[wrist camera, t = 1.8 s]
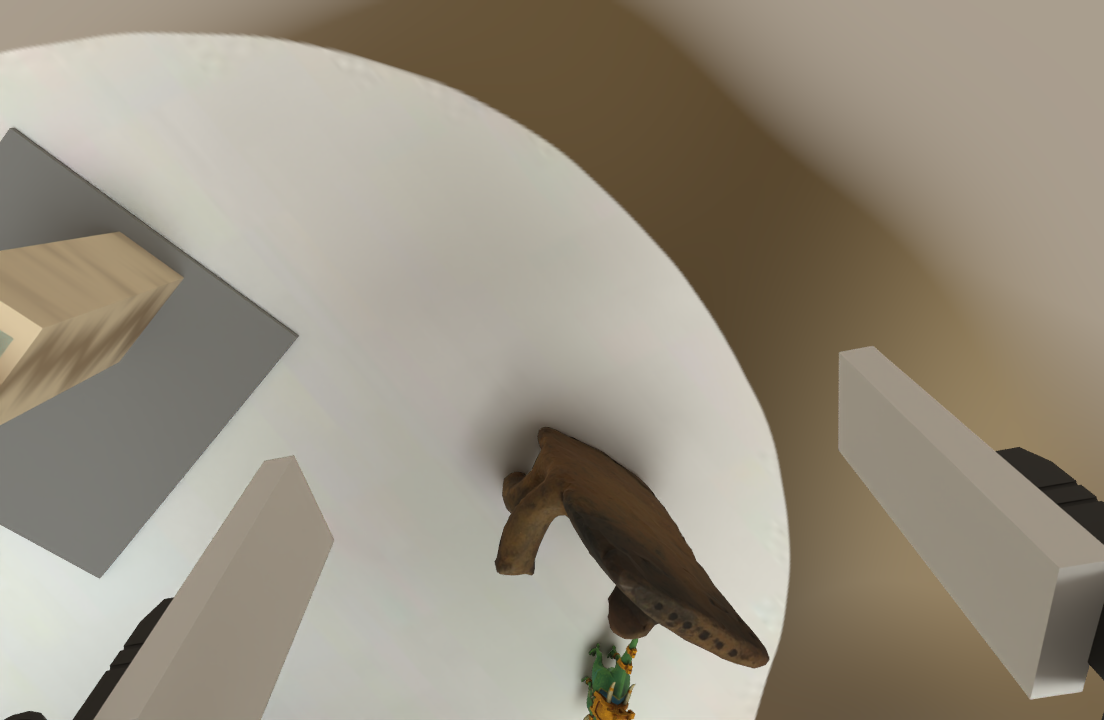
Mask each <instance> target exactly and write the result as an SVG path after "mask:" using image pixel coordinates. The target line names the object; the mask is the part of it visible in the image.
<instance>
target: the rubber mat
mask: <svg viewBox="0 0 1104 720" xmlns="http://www.w3.org/2000/svg"><path fill="white" fill-rule="evenodd" d="M114 232H121V233H123V234H124V235H125V236H127V237H128V238H130V239H131V240H132V241H134V242H135V243H136V244H138V245H139V246H141V247H142V248H143V249H145V250H146V251H148V252H149V253H150V254H152V255H153V256H155V257H156V258H157V259H159V260H160V261H162V262H163V263H164V264H166V265H167V266H168V267H170V268H171V269H173V270H174V271H175V272H177V273H178V274H180V275H181V276H182V277H184V279H183V280H182V281H181V282H180V284H179V285H178V286H177V288H176V289H175V290H174V291H173V293H172V294H171V295H170V297H169V298H168V299H167V301H166V302H165V303H164V304H163V306H162V307H161V308H160V310H159V311H158V312H157V313H156V315H155V316H154V317H153V319H152V320H151V321H150V323H149V324H148V325H147V326H146V328H145V329H144V330H143V332H142V333H141V334H140V336H139V337H138V338H137V339H136V341H135V342H134V343H133V345H132V346H131V347H130V348H129V350H128V351H127V352H126V354H125V355H124V356H123V358H122V359H121V360H120V361H119V362H118V363H116V364H115V365H113V366H111V367H109V368H107V369H105V370H103V371H101V372H100V373H98V374H96V375H94V376H92V377H90V378H88V379H86V380H85V381H83V382H81V383H79V384H77V385H75V386H73V387H71V388H70V389H68V390H66V391H64V392H62V393H60V394H58V395H56V396H54V397H53V398H51V399H49V400H47V401H45V402H43V403H41V404H39V405H38V406H36V407H34V408H32V409H30V410H28V411H26V412H24V413H23V414H21V415H19V416H17V417H15V418H13V419H11V420H9V421H7V422H6V423H4V424H2V425H0V525H2V526H4V527H6V528H8V529H9V530H11V531H13V532H15V533H17V534H19V535H20V536H22V537H24V538H26V539H28V540H30V541H31V542H33V543H35V544H37V545H39V546H41V547H43V548H44V549H46V550H48V551H50V552H52V553H54V554H55V555H57V556H59V557H61V558H63V559H65V560H66V561H68V562H70V563H72V564H74V565H76V566H77V567H79V568H81V569H83V570H85V571H87V572H88V573H90V574H92V575H94V576H96V577H98V578H99V579H100V578H101V577H102V575H103V574H104V573H105V572H106V571H107V569H108V568H109V567H110V566H111V565H112V563H113V562H114V561H115V560H116V558H117V557H118V556H119V555H120V554H121V552H122V551H123V550H124V549H125V547H126V546H127V545H128V544H129V543H130V541H131V540H132V539H133V538H134V536H135V535H136V534H137V533H138V532H139V530H140V529H141V528H142V527H143V525H144V524H145V523H146V522H147V521H148V519H149V518H150V517H151V516H152V514H153V513H154V512H155V511H156V510H157V508H158V507H159V506H160V505H161V503H162V502H163V501H164V500H165V499H166V497H167V496H168V495H169V494H170V492H171V491H172V490H173V489H174V488H175V486H176V485H177V484H178V483H179V481H180V480H181V479H182V478H183V477H184V475H185V474H186V473H187V472H188V470H189V469H190V468H191V467H192V466H193V464H194V463H195V462H196V461H197V459H198V458H199V457H200V456H201V455H202V453H203V452H204V451H205V450H206V448H207V447H208V446H209V445H210V444H211V442H212V441H213V440H214V439H215V437H216V436H217V435H218V434H219V433H220V431H221V430H222V429H223V428H224V426H225V425H226V424H227V423H228V422H229V420H230V419H231V418H232V417H233V415H234V414H235V413H236V412H237V411H238V409H239V408H240V407H241V406H242V405H243V403H244V402H245V401H246V400H247V398H248V397H249V396H250V395H251V394H252V392H253V391H254V390H255V389H256V387H257V386H258V385H259V384H260V383H261V381H262V380H263V379H264V378H265V376H266V375H267V374H268V373H269V372H270V370H271V369H272V368H273V367H274V365H275V364H276V363H277V362H278V361H279V359H280V358H281V357H282V356H283V354H284V353H285V352H286V351H287V350H288V348H289V347H290V346H291V345H292V343H293V342H294V341H295V340H296V339H297V337H298V335H296V334H295V333H294V332H292V331H291V330H290V329H288V328H287V327H286V326H284V325H283V324H281V323H280V322H279V321H277V320H276V319H275V318H273V317H272V316H271V315H269V314H268V313H266V312H265V311H264V310H262V309H261V308H260V307H258V306H257V305H255V304H254V303H253V302H251V301H250V300H249V299H247V298H246V297H245V296H243V295H242V294H240V293H239V292H238V291H236V290H235V289H234V288H232V287H231V286H229V285H228V284H227V283H225V282H224V281H223V280H221V279H220V278H219V277H217V276H216V275H214V274H213V273H212V272H210V271H209V270H208V269H206V268H205V267H203V266H202V265H201V264H199V263H198V262H197V261H195V260H194V259H193V258H191V257H190V256H188V255H187V254H186V253H184V252H183V251H182V250H180V249H179V248H177V247H176V246H175V245H173V244H172V243H171V242H169V241H168V240H167V239H165V238H164V237H162V236H161V235H160V234H158V233H157V232H156V231H154V230H153V229H152V228H150V227H149V226H147V225H146V224H145V223H143V222H142V221H141V220H139V219H138V218H136V217H135V216H134V215H132V214H131V213H130V212H128V211H127V210H126V209H124V208H123V207H121V206H120V205H119V204H117V203H116V202H115V201H113V200H112V199H110V198H109V197H108V196H106V195H105V194H104V193H102V192H101V191H100V190H98V189H97V188H95V187H94V186H93V185H91V184H90V183H89V182H87V181H86V180H84V179H83V178H82V177H80V176H79V175H78V174H76V173H75V172H74V171H72V170H71V169H69V168H68V167H67V166H65V165H64V164H63V163H61V162H60V161H59V160H57V159H56V158H54V157H53V156H52V155H50V154H49V153H48V152H46V151H45V150H43V149H42V148H41V147H39V146H38V145H37V144H35V143H34V142H33V141H31V140H30V139H28V138H27V137H26V136H24V135H23V134H22V133H20V132H19V131H17V130H16V129H15V128H10V129H9V130H8V132H7V133H6V135H5V136H4V137H3V139H2V140H1V142H0V251H2V250H8V249H15V248H21V247H27V246H33V245H39V244H45V243H52V242H58V241H64V240H70V239H76V238H83V237H89V236H95V235H101V234H107V233H114Z"/></svg>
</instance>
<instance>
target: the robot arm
mask: <svg viewBox="0 0 1104 720" xmlns="http://www.w3.org/2000/svg"><path fill="white" fill-rule="evenodd" d="M839 451H840V452H841V454H842V455H843V456H844V458H845V459H846V460H847V462H848V463H849V464H850V465H851V467H852V468H853V469H854V471H855V472H856V473H857V475H858V476H859V477H860V478H861V480H862V481H863V482H864V483H865V485H866V486H867V488H868V489H869V490H870V491H871V493H872V494H873V495H874V497H875V498H876V499H877V501H878V502H879V503H880V504H881V506H882V507H883V508H884V510H885V511H886V512H887V514H888V515H889V516H890V517H891V519H892V520H893V521H894V522H895V524H896V525H897V527H898V528H899V529H900V530H901V532H902V533H903V534H904V536H905V537H906V538H907V539H908V541H909V542H910V543H911V544H912V546H913V547H914V548H915V550H916V551H917V553H918V554H919V555H920V556H921V558H922V559H923V560H924V562H925V563H926V564H927V566H928V567H929V568H930V569H931V571H932V572H933V573H934V575H935V576H936V577H937V579H938V580H939V581H940V583H941V584H942V585H943V586H944V588H945V589H946V590H947V592H948V593H949V594H950V596H951V597H952V598H953V599H954V601H955V602H956V603H957V605H958V606H959V607H960V609H961V610H962V611H963V612H964V614H965V615H966V616H967V617H968V619H969V620H970V622H971V623H972V624H973V625H974V626H975V628H976V629H977V631H978V632H979V633H980V635H981V636H982V637H983V638H984V640H985V641H986V642H987V644H988V645H989V646H990V648H991V649H992V650H993V651H994V653H995V654H996V655H997V657H998V658H999V659H1000V660H1001V662H1002V663H1003V664H1004V666H1005V667H1006V668H1007V670H1008V671H1009V672H1010V673H1011V675H1012V676H1013V677H1014V679H1015V680H1016V681H1017V683H1018V684H1019V685H1020V687H1021V688H1022V689H1023V690H1024V692H1025V693H1026V694H1027V696H1028V697H1029V698H1030V699H1036V698H1042V697H1049V696H1056V695H1062V694H1069V693H1076V692H1082V690H1083V687H1084V683H1085V680H1086V676H1087V672H1088V669H1089V665H1090V666H1091V667H1092V668H1093V669H1094V670H1095V671H1096V672H1097V673H1098V674H1099V676H1100V677H1102V679H1103V680H1104V502H1102V501H1098V500H1097V498H1096V496H1095V495H1093V494H1092V493H1091V492H1090V491H1088V490H1087V489H1086V488H1084V487H1083V486H1082V485H1077V483H1076V480H1074V479H1073V478H1072V477H1071V476H1069V475H1068V474H1067V473H1065V472H1064V471H1063V470H1062V469H1060V468H1059V467H1058V466H1057V465H1055V464H1054V463H1053V462H1051V461H1049V460H1047V459H1045V458H1043V457H1040V456H1038V455H1036V454H1034V453H1031V452H1029V451H1027V450H1025V449H1022V448H1020V447H1017V448H1012V449H1005V450H1000V451H994V450H993V449H992V448H991V447H989V446H988V445H987V444H986V443H985V442H984V441H983V440H981V439H980V438H979V437H978V436H977V435H976V434H974V433H973V432H972V431H971V430H970V429H969V428H968V427H966V426H965V425H964V424H963V423H962V422H961V421H959V420H958V419H957V418H956V417H955V416H954V415H952V414H951V413H950V412H949V411H948V410H947V409H945V408H944V407H943V406H942V405H941V404H939V403H938V402H937V401H936V400H935V399H934V398H933V397H932V396H930V395H929V394H928V393H927V392H926V391H925V390H923V389H922V388H921V387H920V386H919V385H918V384H917V383H915V382H914V381H913V380H912V379H910V378H909V377H908V376H907V375H906V374H905V373H904V372H903V371H901V370H900V369H899V368H898V367H897V366H896V365H894V364H893V363H892V362H891V361H890V360H889V359H887V358H886V357H885V356H884V355H883V354H882V353H881V352H879V351H878V350H877V349H876V348H875V347H874V346H870V347H865V348H859V349H854V350H849V351H844V352H839ZM333 542H334V538H333V536H332V534H331V532H330V530H329V528H328V526H327V524H326V522H325V520H324V517H323V515H322V513H321V511H320V509H319V507H318V505H317V503H316V501H315V498H314V496H313V494H312V492H311V490H310V488H309V486H308V484H307V482H306V479H305V477H304V475H303V473H302V471H301V469H300V467H299V465H298V463H297V460H296V458H295V456H294V455H293V456H288V457H283V458H278V459H272V460H267V461H264V462H263V464H262V465H261V467H260V468H259V470H258V471H257V473H256V474H255V476H254V477H253V479H252V480H251V482H250V483H249V485H248V486H247V488H246V489H245V491H244V492H243V494H242V495H241V497H240V498H239V500H238V501H237V503H236V504H235V506H234V508H233V509H232V511H231V512H230V514H229V515H228V517H227V518H226V520H225V521H224V523H223V524H222V526H221V527H220V529H219V530H218V532H217V533H216V535H215V536H214V538H213V539H212V541H211V542H210V544H209V545H208V547H207V548H206V550H205V551H204V553H203V554H202V556H201V558H200V559H199V561H198V562H197V564H196V565H195V567H194V568H193V570H192V571H191V573H190V574H189V576H188V577H187V579H186V580H185V582H184V583H183V585H182V586H181V588H180V589H179V591H178V592H177V594H176V595H175V597H173V598H168V599H164V600H163V601H162V602H161V603H160V604H159V605H158V606H157V607H155V608H154V609H153V610H152V611H151V612H150V613H149V614H148V615H147V616H146V617H145V618H144V619H143V620H142V621H141V622H140V623H139V624H138V626H137V627H136V629H135V630H134V632H133V633H132V635H131V636H130V637H129V639H128V640H127V642H126V643H125V645H124V650H122V651H120V652H119V653H118V655H117V656H116V658H115V659H114V661H113V662H112V663H111V665H110V670H109V671H106V672H105V674H104V675H103V677H102V678H101V679H100V681H99V682H98V684H97V685H96V687H95V688H94V690H93V691H92V692H91V694H90V695H89V697H88V698H87V700H86V701H85V703H84V704H83V705H82V707H81V708H80V710H79V711H78V713H77V714H76V716H75V717H74V718H73V720H261V718H262V715H263V713H264V711H265V708H266V706H267V703H268V701H269V698H270V696H271V693H272V691H273V689H274V686H275V684H276V681H277V679H278V676H279V674H280V671H281V669H282V667H283V664H284V662H285V659H286V657H287V654H288V652H289V649H290V647H291V645H292V642H293V640H294V637H295V635H296V632H297V630H298V627H299V625H300V623H301V620H302V618H303V615H304V613H305V610H306V608H307V605H308V603H309V601H310V598H311V596H312V593H313V591H314V588H315V586H316V583H317V581H318V579H319V576H320V574H321V571H322V569H323V566H324V564H325V561H326V559H327V557H328V554H329V552H330V549H331V547H332V544H333ZM4 720H47V719H46V718H45V717H44V716H43V715H42V714H41V713H39V712H33V711H27V712H23V713H20V714H16V715H12V716H10V717H8V718H6V719H4ZM1102 720H1104V714H1103V717H1102Z"/></svg>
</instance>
